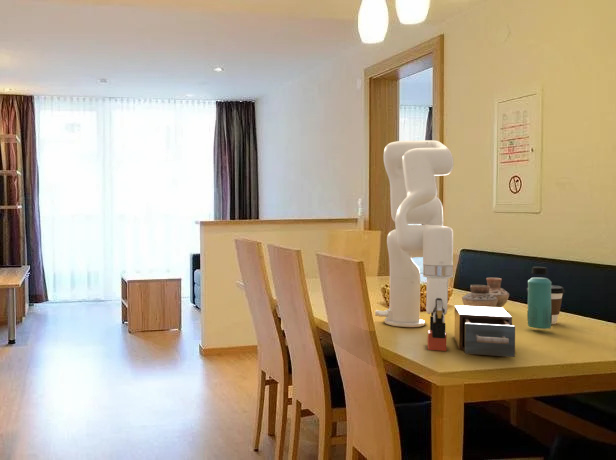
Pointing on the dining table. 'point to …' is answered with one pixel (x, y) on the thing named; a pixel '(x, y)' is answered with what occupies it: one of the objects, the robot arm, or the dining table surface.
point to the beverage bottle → (539, 300)
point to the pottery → (486, 294)
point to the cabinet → (475, 313)
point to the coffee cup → (556, 301)
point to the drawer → (488, 337)
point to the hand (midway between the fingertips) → (437, 334)
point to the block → (436, 342)
